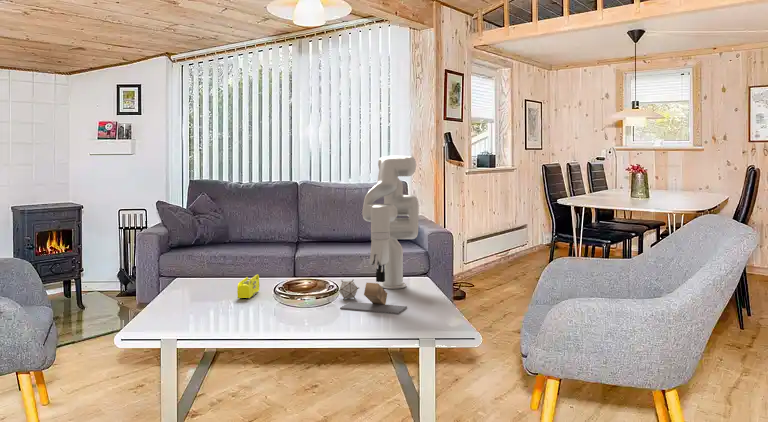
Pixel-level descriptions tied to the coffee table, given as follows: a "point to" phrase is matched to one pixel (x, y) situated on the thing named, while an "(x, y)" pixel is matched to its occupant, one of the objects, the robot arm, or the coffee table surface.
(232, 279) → the coffee table surface
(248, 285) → the yellow toy chassis
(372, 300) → the oak block
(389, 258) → the robot arm
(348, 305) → the mat
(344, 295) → the game die
